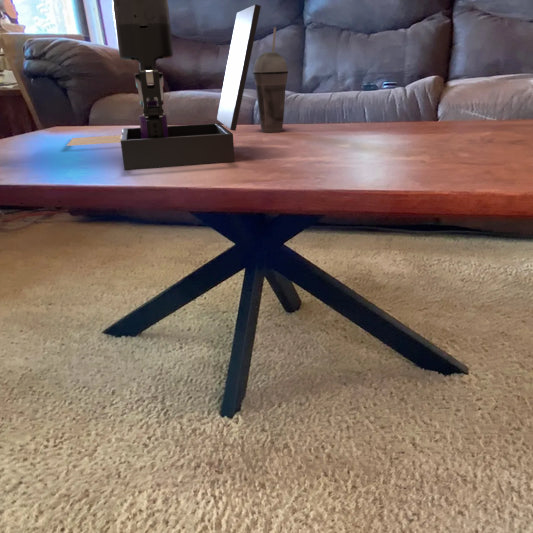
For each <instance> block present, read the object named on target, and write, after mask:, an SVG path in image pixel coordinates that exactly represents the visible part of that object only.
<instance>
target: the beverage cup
mask: <svg viewBox="0 0 533 533" xmlns="http://www.w3.org/2000/svg"><path fill="white" fill-rule="evenodd" d="M276 38H277V27H275V26H274V27H273V34H272V45H271V51H270V52H269V51H268V52H263V53H262V54H260V55H259V56H258V57H257V59H255V63H254V65H253V71H252V75H253V80H254V85H255V89H256V99H257V108H258V116H259V124H260V130H261V133H281V132H283V127H284V118H285V102H286V88H287V82H288V74H289V71H288V65H287V62H286V60H285V58H284V57H283V56H282V55H281V54H280V53H278V52H275V50H276Z"/></svg>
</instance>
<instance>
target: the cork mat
mask: <svg viewBox="0 0 533 533" xmlns="http://www.w3.org/2000/svg"><path fill="white" fill-rule="evenodd" d="M121 136H122V134H118V135H117V134H116V135H99V136H86V137H85V136H82V137H81V136H80V137H72V138H71V140H69V142H68V143H67V145H66V147H69V146H71V147H73V146H86V145H88V146H89V145H101V144H102V145H103V144H117V143H118V144H119V143H120V144H121Z"/></svg>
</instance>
